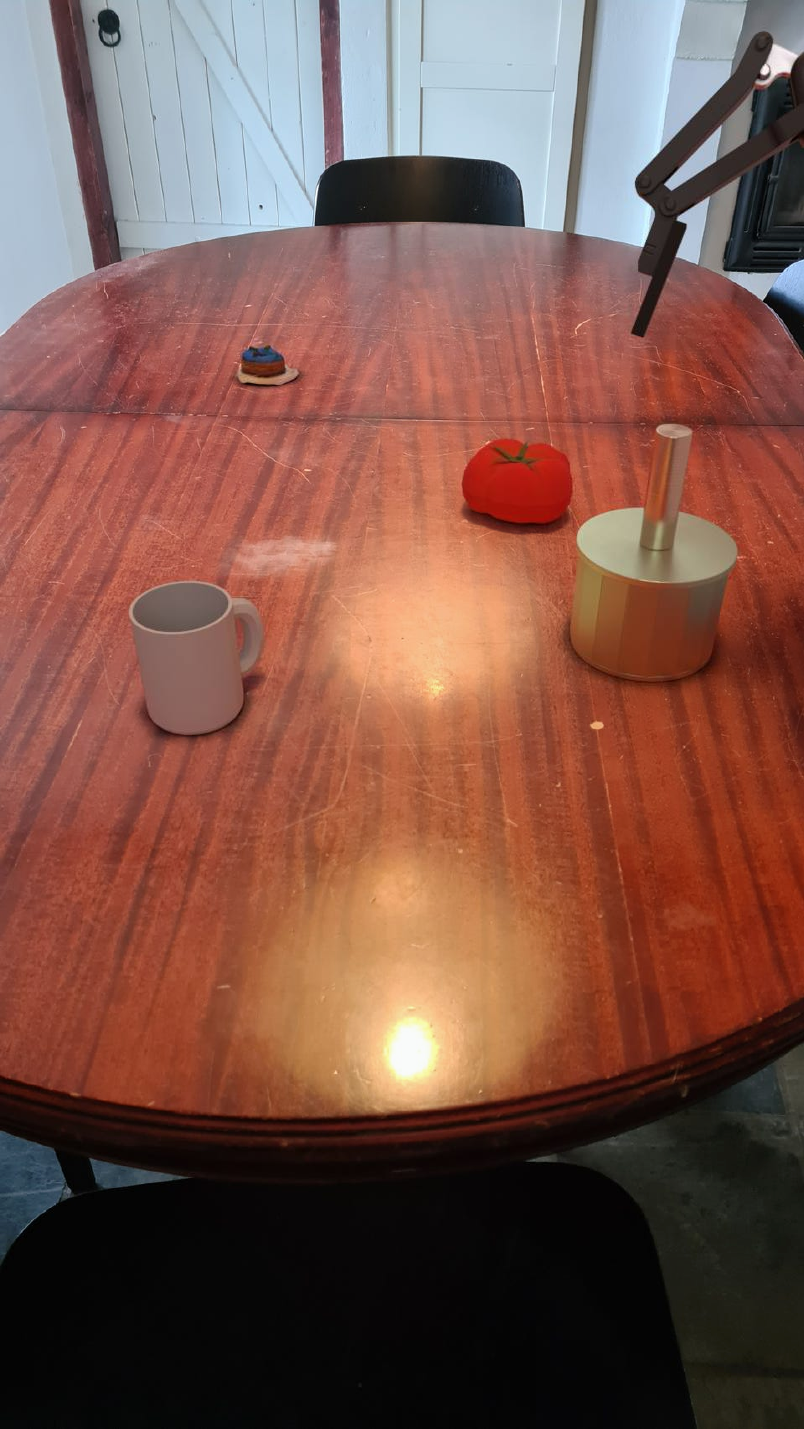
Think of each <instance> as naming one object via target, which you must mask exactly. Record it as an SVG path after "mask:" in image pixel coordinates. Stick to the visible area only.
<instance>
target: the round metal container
mask: <svg viewBox="0 0 804 1429" xmlns="http://www.w3.org/2000/svg"><path fill="white" fill-rule="evenodd" d="M728 578H729V574H728V575H726V576H725V577H724V578H722V579H720V580H718V581H716V582H713V583H711V584H708V585H704V586H700V587H695V588H688V589H653V588H645V587H639V586H634V585H630V584H626V583H622V582H619V581H616V580H614V579H611V578H609V577H606V576H604V575H602V574H600V573H598V572H597V571H595V570H594V569H592V568H591V567H589V566H588V565H587V564H586V563H585V562H584V561H583V560H582V559H581V558H580V556H579V554H578V553H577V562H576V571H575V581H574V589H573V597H572V598H573V599H572V607H571V615H570V616H571V617H570V625H569V634H570V642H571V646H572V648H573V650H574V651H575V653H576V655H578V656H579V657H580V658H581V660H583V661H584V662H585V663H587V664H588V665H590V666H591V667H593V668H595V669H597V670H598V671H600V672H602V673H605V674H607V675H610V676H613V677H617V678H620V679H625V680H628V681H636V682H645V683H648V682H649V683H651V682H652V683H657V682H660V683H661V682H670V681H675V680H679V679H684V678H687V677H690V676H691V675H693V674H695V673H697V672H699V671H700V670H701V669H703V668H704V666H706V664H707V663H708V662H709V660H710V658H711V656H712V653H713V649H714V643H715V640H716V634H717V629H718V625H719V621H720V616H721V612H722V611H721V610H722V606H723V601H724V596H725V594H726V593H725V592H726V587H727V583H728Z"/></svg>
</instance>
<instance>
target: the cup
mask: <svg viewBox="0 0 804 1429" xmlns="http://www.w3.org/2000/svg"><path fill="white" fill-rule="evenodd" d="M128 616H129V620H130V626H131V631H132V635H133V636H132V637H133V642H134V647H135V652H136V658H137V662H138V667H139V668H138V669H139V672H140V678H141V684H142V688H143V694H144V698H145V699H144V700H145V704H146V709H147V712H148V716H149V717H150V719H151V720H152V722H153V723H154V724H155V725H157V726H158V727H160V728H161V729H163V731H166V732H169V733H172V734H175V735H176V734H177V735H182V736H194V735H195V736H198V735H203V734H209V733H212V732H214V731H217V730H220V729H222V728H223V727H225V726H227V725H229V724H230V723H231V722H232V721H234V720H235V719H236V718H237V716H238V714H239V713H240V711H241V709H242V708H243V706H244V705H243V704H244V685H243V677H245V676H247V675H248V674H249V673H250V672H251V671H253V670H254V669H255V667H256V666H257V664H258V663H259V662H260V660H261V659H262V658H261V657H262V654H263V652H264V647H265V631H264V630H265V628H264V624H263V621H262V617H261V615H260V612H259V609H258V608H257V607H256V606H255V605H254V603H253V602H252V601H250V600H248V599H246V598H245V597H232V596H231V595H230V594H229V592H228V591H227V590H226V589H224V588H223V587H221V586H219V585H217V584H215V583H210V582H206V581H197V580H178V581H172V582H167V583H163V584H160V585H156V586H154V587H152V588H149V589H147V590H145V591H143V592H142V593H141V594H139V595H138V596H136V598H135V599H134V600H133V601H132V602H131V604H130V606H129V609H128ZM237 619H238V620H239V621H240V623H241V626H242V634H243V635H242V645H241V648H240V651H239V645H238V636H237V628H236V620H237Z"/></svg>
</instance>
